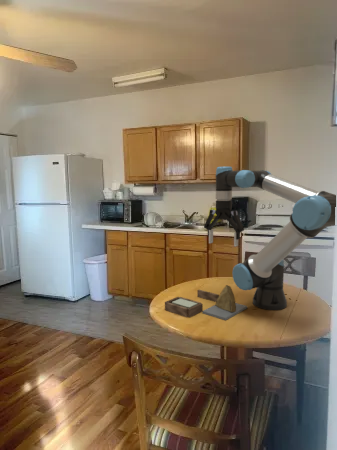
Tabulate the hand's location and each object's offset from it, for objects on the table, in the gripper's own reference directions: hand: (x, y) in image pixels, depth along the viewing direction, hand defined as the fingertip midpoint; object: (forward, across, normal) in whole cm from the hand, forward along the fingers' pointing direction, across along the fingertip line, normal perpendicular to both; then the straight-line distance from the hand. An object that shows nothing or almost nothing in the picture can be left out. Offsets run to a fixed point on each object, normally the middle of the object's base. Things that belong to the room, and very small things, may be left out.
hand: (223, 244), depth 161 cm
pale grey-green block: (+28, +6, +22) cm, 36 cm away
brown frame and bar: (+27, +7, +15) cm, 32 cm away
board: (+27, -8, +11) cm, 31 cm away
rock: (+27, -8, +11) cm, 30 cm away
